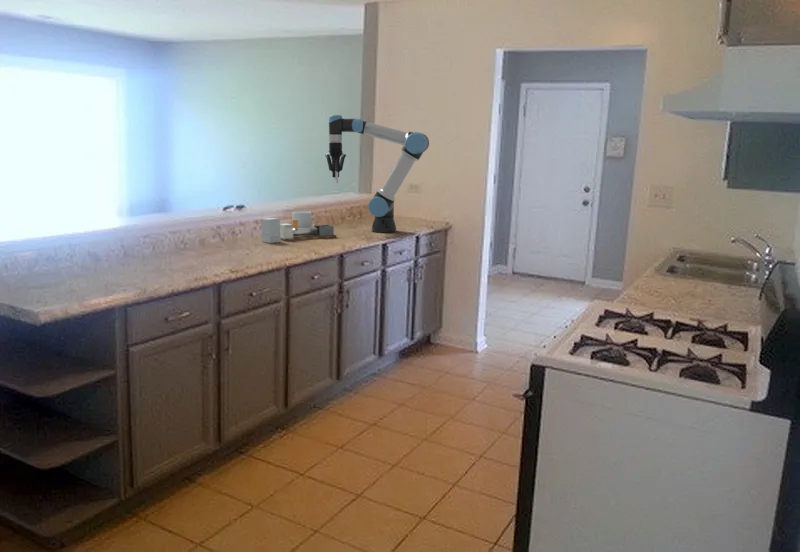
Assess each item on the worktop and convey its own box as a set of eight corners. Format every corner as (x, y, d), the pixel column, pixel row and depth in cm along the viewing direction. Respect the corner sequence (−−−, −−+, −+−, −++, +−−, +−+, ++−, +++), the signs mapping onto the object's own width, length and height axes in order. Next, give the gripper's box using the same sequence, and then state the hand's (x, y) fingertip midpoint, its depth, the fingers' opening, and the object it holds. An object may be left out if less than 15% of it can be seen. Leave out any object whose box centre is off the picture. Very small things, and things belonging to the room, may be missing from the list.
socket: (287, 236, 375) (287, 223, 374) (293, 238, 369) (293, 224, 368) (278, 237, 372) (278, 223, 371) (284, 238, 366) (284, 225, 365)
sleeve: (327, 233, 389) (327, 224, 388) (333, 235, 384) (333, 226, 383) (314, 234, 384) (314, 225, 383) (319, 236, 379) (319, 227, 378)
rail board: (328, 235, 391) (328, 233, 391) (336, 237, 384) (336, 235, 383) (277, 239, 373) (277, 237, 373) (284, 241, 366) (284, 239, 366)
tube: (314, 234, 383) (313, 218, 381) (317, 235, 379) (317, 219, 378) (284, 236, 373) (284, 220, 371) (288, 237, 369) (287, 220, 368)
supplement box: (281, 242, 363) (280, 218, 360) (269, 243, 358) (269, 219, 355) (272, 240, 368) (272, 217, 365) (261, 241, 363) (260, 218, 360)
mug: (311, 232, 402) (310, 210, 399) (321, 234, 393) (320, 212, 391) (289, 234, 392) (288, 212, 390) (298, 236, 384) (298, 213, 382)
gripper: (342, 142, 400) (342, 182, 405) (322, 142, 393) (323, 182, 397) (348, 142, 394) (348, 183, 399) (328, 142, 387) (329, 183, 391)
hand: (335, 182), depth 398 cm, fingers closed
